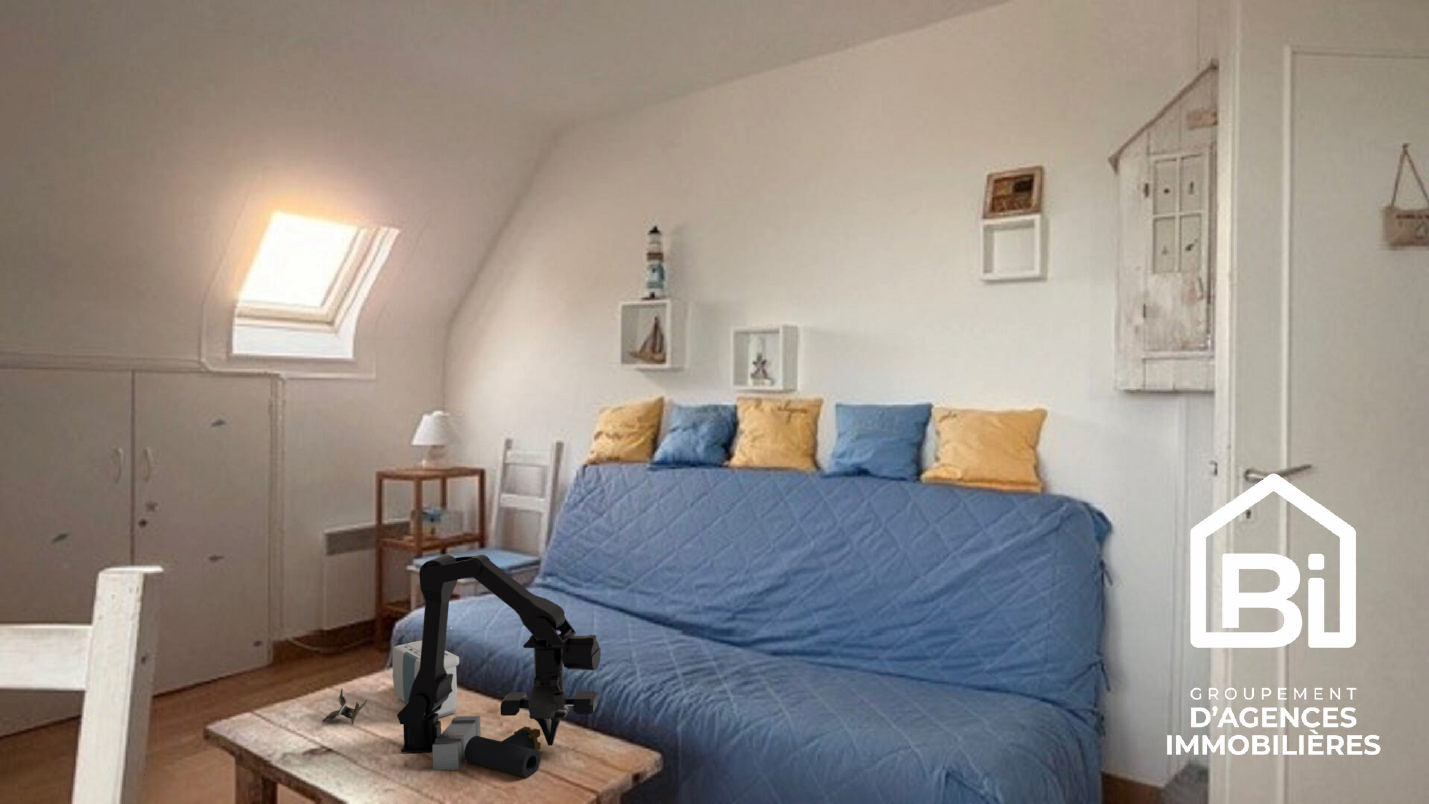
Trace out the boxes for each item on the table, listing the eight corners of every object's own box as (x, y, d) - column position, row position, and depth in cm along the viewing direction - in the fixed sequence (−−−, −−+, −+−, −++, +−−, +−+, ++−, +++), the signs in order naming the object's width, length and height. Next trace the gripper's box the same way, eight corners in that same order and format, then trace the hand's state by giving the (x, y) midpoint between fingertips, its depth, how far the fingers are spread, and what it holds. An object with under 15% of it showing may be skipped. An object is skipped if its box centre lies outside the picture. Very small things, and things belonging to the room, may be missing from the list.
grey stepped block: (433, 770, 157) (432, 742, 157) (457, 739, 171) (456, 714, 171) (458, 769, 157) (458, 742, 156) (480, 739, 171) (480, 713, 170)
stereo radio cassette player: (392, 700, 195) (389, 617, 195) (425, 691, 200) (423, 611, 200) (427, 724, 179) (425, 635, 179) (462, 713, 185) (460, 627, 185)
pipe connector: (504, 718, 168) (561, 731, 161) (505, 743, 169) (562, 757, 162) (463, 741, 158) (522, 755, 151) (464, 767, 158) (523, 783, 151)
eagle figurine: (374, 710, 185) (347, 697, 189) (362, 691, 181) (335, 679, 185) (349, 738, 180) (321, 724, 184) (336, 719, 176) (309, 706, 180)
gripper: (491, 683, 155) (493, 764, 155) (587, 681, 155) (589, 762, 155) (507, 664, 166) (509, 739, 166) (596, 662, 166) (598, 737, 166)
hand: (550, 744), depth 163 cm, fingers closed
